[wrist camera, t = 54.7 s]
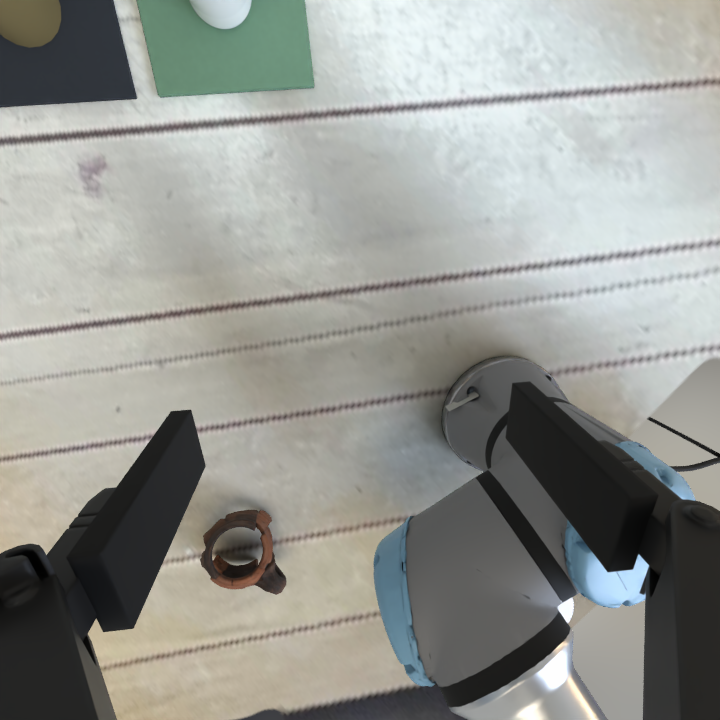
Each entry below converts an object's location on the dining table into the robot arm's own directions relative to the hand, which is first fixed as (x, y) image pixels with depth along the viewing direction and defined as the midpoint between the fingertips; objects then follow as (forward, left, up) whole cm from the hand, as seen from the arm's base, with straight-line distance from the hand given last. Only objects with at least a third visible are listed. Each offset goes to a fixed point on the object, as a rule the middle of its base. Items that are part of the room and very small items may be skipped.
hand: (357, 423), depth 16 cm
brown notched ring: (+14, +29, -28) cm, 43 cm away
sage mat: (+5, -28, -28) cm, 40 cm away
